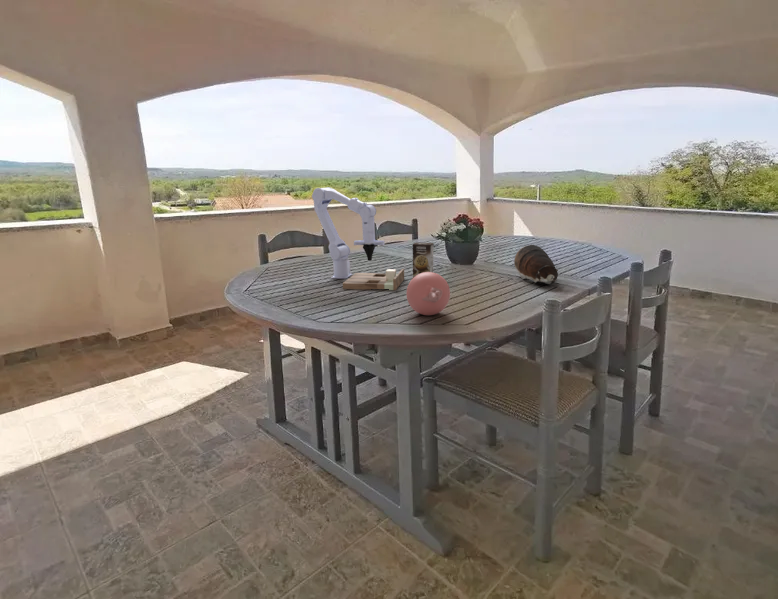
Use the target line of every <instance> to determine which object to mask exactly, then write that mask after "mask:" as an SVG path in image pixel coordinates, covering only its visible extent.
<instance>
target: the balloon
mask: <svg viewBox="0 0 778 599" xmlns="http://www.w3.org/2000/svg"><path fill="white" fill-rule="evenodd" d="M450 298H451V288H450V285H449V284H448V282H447V280H446V279H445V278H444V277H443V276H441V275H440V274H438V273H436V272H434V271H433V272H423V273H420V274H418V275H416V276H415V277H412V278H411V279H410V281H409V283H408V285H407V287H406V299H407V303H408V305H409V306H410V308H412V310H414V311H415V312H416V313H417V314H420V315H422V316H434V315H437V314H439V313H441V312H442V311H443V310H444V309H445V308H446V307H447V306H448V303H449V302H450Z"/></svg>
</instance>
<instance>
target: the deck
mask: <svg viewBox="0 0 778 599" xmlns="http://www.w3.org/2000/svg"><path fill="white" fill-rule="evenodd" d="M404 280H405V268H401V269H400V270H399V272H398V273H396V276H395V277H394V279H393V280H386V273H380V272H379V273H377V272H376V273H374V272H372V273H369V272H355V273H354V274H352V275H351V276H349V277H348V278H347V279H346V280H345V281H343V282H342V289H343V290H371V289H389V290H388V291H397V289H398V288H399V286H401V284H402V283H403V281H404Z"/></svg>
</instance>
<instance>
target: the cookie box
mask: <svg viewBox="0 0 778 599" xmlns="http://www.w3.org/2000/svg"><path fill="white" fill-rule="evenodd" d="M434 244H435V243H434V242H418V241H417V242H414V243H412V278H414V277H415V276H416V275H418V274H420V273H423V272H433V273H434Z"/></svg>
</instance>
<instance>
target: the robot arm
mask: <svg viewBox="0 0 778 599" xmlns="http://www.w3.org/2000/svg"><path fill="white" fill-rule="evenodd" d="M311 198H312V200H313V208H314V212H315V213H316V216H317V218H318V221H319V222H320V224H321V227H322V228H323V230H324V233H325V235H326V237H327V241H328V243H329V244H328V246H327V247H328V251H329V256H330V258H331V259H332V262H333V263H332V266H333V276H331V277H330V278H331V279H346V280H348V279H349V278H350V277H351V276H353V273H351V265H350V264H351V262H350V260H349V256H350V253H351V249H350V246H349V245H348V244H347V243H346V242H345V241H344V239H342V238H341V237H340V235H339V232H338V231H337V228H336V226H335V224H334V222H333V220H332V217H331V216H330V213H329V211H328V207H329V204H330V203H331V202H332V201H333V200H334V201H337V202H339V203H341V204H343V205H346V206H347V209H348V210H350V211H352V212H354V213H356V214H358V215H359V216H360V218H361V225H362V226H361V227H362V229H361V230H362V240H354V241H353V246H362V249H363V250H364V253H365V254H366V257H367V258H366V259H367V261H368V262H369V261H372V260H373V255H374V251H375V249H376V246H385V245H386V243H385V240H380V239H379V240H377V239H376V231H375V230H376V229H375V228H376V226H375V217H376V214H377V208H376V206H374V205H373V204H367V202H366V201H365V202H363V201H361V200H360V199H359V198H358V197H352V198H349V197H348V196H346V195H345V194H343V193H341V192H339V191H337V190H336V188H335V189H334V188H332V187H328V186H327V187H316V188H314V190H313V192H312V195H311Z"/></svg>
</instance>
